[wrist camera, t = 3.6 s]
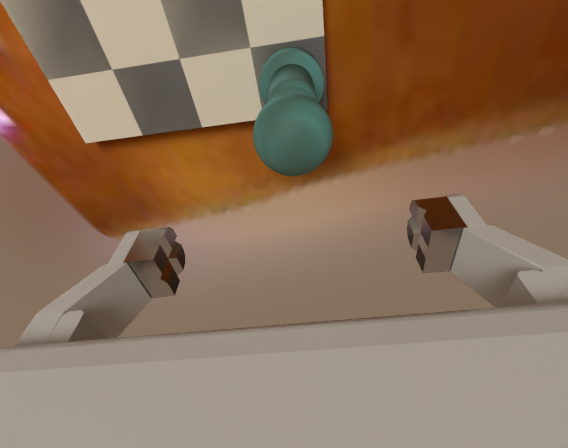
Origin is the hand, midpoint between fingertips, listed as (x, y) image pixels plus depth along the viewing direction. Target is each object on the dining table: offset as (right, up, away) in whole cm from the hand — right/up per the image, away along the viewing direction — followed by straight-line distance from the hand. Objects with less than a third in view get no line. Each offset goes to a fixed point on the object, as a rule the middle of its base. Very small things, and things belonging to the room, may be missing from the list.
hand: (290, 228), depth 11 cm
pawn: (0, +10, +12) cm, 16 cm away
